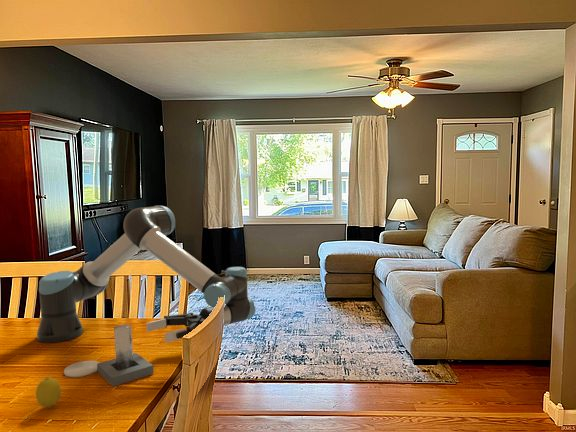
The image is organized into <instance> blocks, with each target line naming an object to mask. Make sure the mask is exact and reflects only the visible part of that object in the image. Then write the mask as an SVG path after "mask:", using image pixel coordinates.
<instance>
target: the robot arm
mask: <svg viewBox="0 0 576 432" xmlns="http://www.w3.org/2000/svg"><path fill="white" fill-rule="evenodd" d="M122 224H123V231H124V233H123V234H122V235H121V236H120V237H119V238H118V239H117V240H116V241H115V242H113V244H111V245H110V246H109V247H108V248H107V249H106V250H105V251H103V252H102V253H101V254H100V255H99V256H98V257H97V258H96V259H94V260H93V261H92V260H91V261H87V262H86V263H84V264H83V265H82V266H81V267H80V268H78V270H76V271H70V270H60V271H56V272H55V271H54V272H51V273H48V274H45V275H44V276H42V277H41V278H40V280H39V282H38V283H39V284H38V292H39V294H38V295H39V303H40V318H41V319H40V321H39V326H38V329H37V332H36V338H37V339H36V340H37V341H38V342H40V343H47V344H48V343H60V342H64V341H65V342H66V341H69V340H72V339H75V338H78V337H80V336H81V335H82V334H83V332H84V331H83V325H82V323H81V320H80V318H79V315H78V314H77V303H78V302H81V301H84V300H87V299H90V298H94V297H95V296H96V297H97V296H98V295H99V294H101V293H103V292H104V291H105V290H106V288H107V286H108V283H109V281H110V277H111V276H112V275H114V273H115V272H117V271H118V270H119V269H120V268H121V267H122V266H124V265H125V264H126V263H127V262H128V261H129V260H131V259H132V257H134V256H135V255H136V254H138V253H139V252H140V251H145V250H146V251H147V252H149V253H150V254H151V255H152V256H154V257H155V258H157V259H158V260H159V261H161V262H162V263H163V264H164V265H166V266H167V267H168V268H170V269H171V270H172V271H174V272H175V273H176V274H178V275H179V276H181V278H182V279H184V280H185V281H187V282H188V283H189V284H191V285H192V286H193V287H194V288H196V289H197V290H198V291H199V292H201V293H203V299H204V300H205V302H206V304H207V305H208V306H207V307H204V308H202V309H201V310H200V312H199V314H196V313H195V314H194V312H189V313H183V314H173V315H163V318H162V319H158V320H154V321H149V322H146V323H145V324H146V332H152V331H157V330H160V329H163V328H165V329H167V328H168V327H169V326H172V327H173V326H184V328H180V329H175V330H173V331H168V332H165V333H164V343H166V344H167V343H170V342H173V341H177V340H181V339H183V338H182V337H183V336H184V335H186V334H188V333H189V332H191V331H192V330H193V329H195V328H196V327H197V326H198V325H199V324H201V323H202V322H203V321H204V320H205V319H206V318H207V317H208V316H209V314H210V313H211V312H212V310H213V309H214V307H215V306H216V304H217V301H218V297H219V298H220V297H224V295H225V307H224V325H223V327H222V328H224V326H228V325H231V324H236V323H240V322H244V321H247V320H249V319H251V318H253V317H254V316H255V313H256V306H255V302H254V300H253V299H252V298H249V297H248V273H247V269H246V268H245V267H243V266H230V267H227V268H226V269H225V275H224V278H222V277H220V276H219V275H218V274H216V273H215V272H214V271H212V270H211V269H210V268H209V267H207V266H206V265H205V264H203V263H202V262H201V261H199V260H198V259H197V258H195V256H193V255H191V254H190V253H189V252H188V251H186V250H185V249H183V248H182V247H181V246H179V245H178V243H176V242H174V240H172V239H170V238H169V237H167V236H168V235H171V234H172V232H174V230H175V227H176V218H175V214H174V213H173V211H172V210H171V209H170V208H169V207H167V206H164V205H154V206H145V207H137V208H134V209H132V210H130V211H129V212H128V213H127V214H126V216H125V217H124V220H123V223H122Z"/></svg>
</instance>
